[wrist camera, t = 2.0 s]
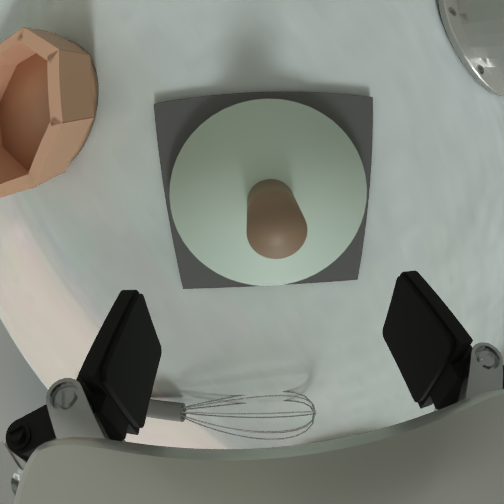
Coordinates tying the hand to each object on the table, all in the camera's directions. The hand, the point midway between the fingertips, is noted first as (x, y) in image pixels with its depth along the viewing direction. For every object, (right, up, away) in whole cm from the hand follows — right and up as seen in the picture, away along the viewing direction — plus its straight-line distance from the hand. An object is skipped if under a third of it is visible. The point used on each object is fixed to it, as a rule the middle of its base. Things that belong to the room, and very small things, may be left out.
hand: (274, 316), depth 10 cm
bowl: (-18, +14, +6) cm, 24 cm away
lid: (0, +6, +10) cm, 12 cm away
